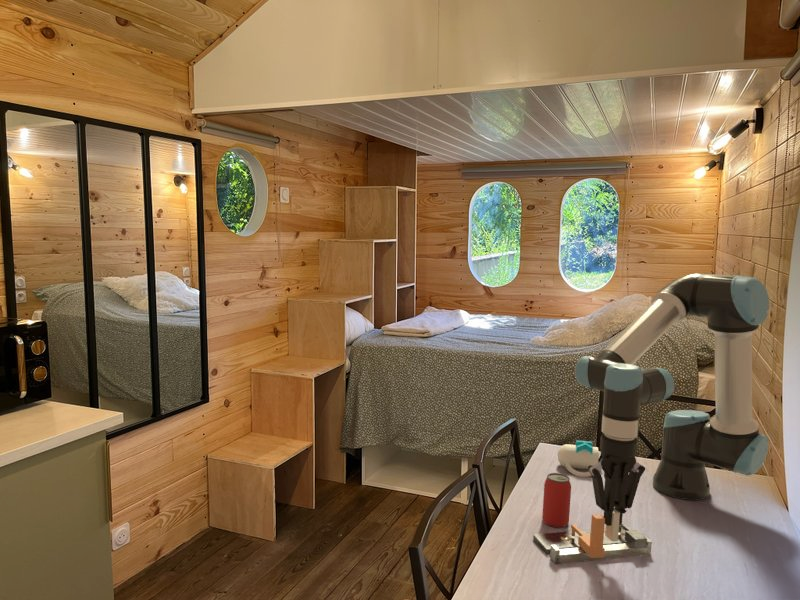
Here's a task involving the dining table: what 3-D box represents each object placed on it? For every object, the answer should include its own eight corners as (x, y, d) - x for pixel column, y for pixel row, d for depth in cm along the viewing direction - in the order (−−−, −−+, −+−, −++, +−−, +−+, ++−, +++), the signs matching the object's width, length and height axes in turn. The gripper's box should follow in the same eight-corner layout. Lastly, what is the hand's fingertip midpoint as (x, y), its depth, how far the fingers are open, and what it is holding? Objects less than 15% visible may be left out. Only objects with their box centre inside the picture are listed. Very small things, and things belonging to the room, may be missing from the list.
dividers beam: (628, 536, 149) (630, 519, 149) (651, 555, 141) (652, 537, 140) (537, 544, 144) (538, 527, 144) (555, 564, 135) (556, 546, 135)
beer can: (569, 530, 152) (572, 483, 150) (542, 526, 153) (545, 480, 152) (567, 518, 158) (570, 473, 157) (541, 515, 159) (544, 470, 158)
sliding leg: (577, 533, 146) (580, 495, 145) (603, 559, 135) (607, 518, 134) (566, 534, 145) (568, 496, 144) (591, 560, 134) (594, 519, 133)
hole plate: (622, 531, 152) (623, 526, 152) (639, 545, 145) (640, 540, 145) (533, 539, 146) (533, 534, 146) (546, 554, 140) (546, 549, 140)
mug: (558, 433, 194) (598, 437, 192) (556, 455, 199) (595, 459, 196) (559, 460, 184) (601, 464, 182) (557, 482, 189) (597, 486, 186)
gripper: (635, 428, 138) (627, 527, 141) (583, 430, 135) (576, 532, 138) (656, 439, 131) (647, 544, 134) (601, 442, 128) (593, 549, 131)
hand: (611, 538), depth 136 cm, fingers closed
